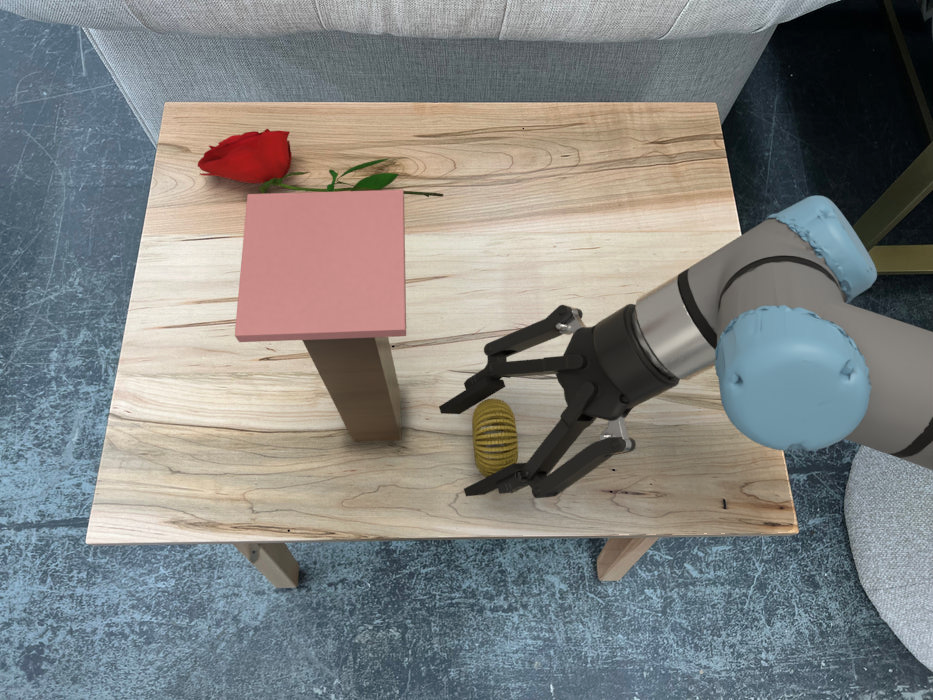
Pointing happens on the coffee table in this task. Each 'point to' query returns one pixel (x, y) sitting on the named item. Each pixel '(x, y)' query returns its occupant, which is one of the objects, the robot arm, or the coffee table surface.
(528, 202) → the coffee table surface
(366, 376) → the stand post
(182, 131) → the coffee table surface
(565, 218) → the coffee table surface
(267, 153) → the flower
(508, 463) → the sculpture
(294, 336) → the rose shelf
